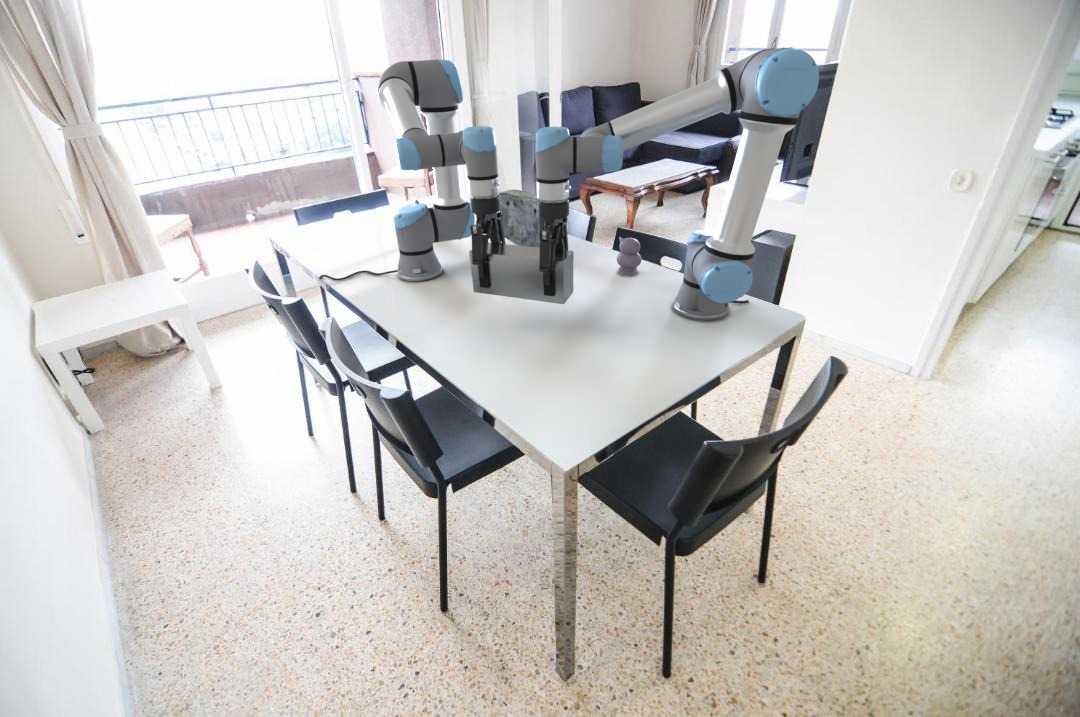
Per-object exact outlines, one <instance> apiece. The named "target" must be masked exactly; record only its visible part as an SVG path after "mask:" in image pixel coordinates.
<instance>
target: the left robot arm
mask: <svg viewBox="0 0 1080 717" xmlns="http://www.w3.org/2000/svg"><path fill="white" fill-rule="evenodd" d="M376 87H377V88H376V89H377V90H376V91H377V92H376V93H377V97H378V101H379V103H380V104H381V106H382V108H383V110H385V111H387V114H388V116H389V118H390V121H391V123H392V126H393V128H394V132H395V133H396V136H397V138H395V140H394V142H393V143H394V151H395V157H396V161H397V165H398V167H399V168H400V170H402V171H419V170H426V169H427V170H428V169H433V170H432V173H433V180H434V187H435V194H436V195H435V197H434V199H433V200H432V207H428V205H427V204H425V203H422V202H421V203H420V202H419V204H415V203H412V204H408V205H404V206H401V207H399V208H398V209H396V210H395V211H394V213H393V216H392V219H393V228H394V229H395V235H396V241H397V247H398V251H399V259H398V265H397V269H395V270H389V271H384V272H374V271H370V270H359V271H356V272H353V273H351V274H349V275H347V276H344V277H340V278H338V277H332V276H331V275H327V274H322V275H320V276H319V277H318V279H319V280H321V279H322V278H327V279H330V280H333V281H344V280H347V279H349V278H352V277H353V276H356V275H359V274H371V275H374V276H384V275H388V274H393V273H397V276H398V278H399V279H400V280H402V281H406V282H413V283H414V282H425V281H429V280H432V279H435V278H438V277H439V276H440V275H441V274H442V273H443V268H442V264H441V263H440V260H439V259H438V256H437V254H436V252H435V250H434V244H435V243H442V242H448V241H449V242H450V241H456V240H457V241H458V240H459V241H460V240H462V239H467V238H470V237H471V250H472V264H473V265H478V273H479V282H480V287H483V288H490V278H489V267H488V264H486V261H487V250H488V243H489V242H490V243H495V244H507V243H506V238H505V236H504V230H503V223H502V212H500V209H501V206H500V196H499V195H498V194H499V193H500V187H501V186H500V185H501V183H500V181H499V166H498V153H497V152H498V151H497V146H498V145H497V144H498V143H497V139H496V133H495V132H496V131H495V130H494V128H493V127H491V126H489V125H487V126H486V125H477V126H476V125H475V126H468V127H466V128H464V129H462V130H459V131H458V132H457V131H456V122H455V116H456V115H457V113H458V112H459V105H460V104H461V103H462V102H463V101H464V91H463V86H462V82H461V77H460V74H459V71H458V69H457V67H456V65H455V63H453V61H451V60H449V59H439V58H437V59H428V60H427V59H426V60H425V59H424V60H402V61H401V60H400V61H398V62H394V63H393V64H391V65H390V66H389V67H387V68H386V69H385V70H384V71H383V72H382V74H381V75H380V77H379V80H378V82H377V86H376ZM417 107H419V111H418V109H417ZM419 112H420V113H421V115H422V116H423V117H425V119H426V126H425V124H424V122H423V119H422V117H421V115H420V113H419ZM426 127H427V128H426ZM463 165H465V167H466V174H467V188H468V195H469V196H470V197H469V202H468V198H467V197H466V195H464V194H463V189H462V180H461V179H462V178H461V170H460V166H463ZM475 216H476V217H475ZM489 240H490V241H489Z"/></svg>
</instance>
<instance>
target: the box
mask: <svg viewBox="0 0 1080 717" xmlns="http://www.w3.org/2000/svg"><path fill="white" fill-rule="evenodd" d="M468 253H469V260H470V261H469V262H470V271H471V278H472V279H471V280H472V289H473V293H476V294H477V293H478V294H485V295H491V296H492V295H493V296H498V297H506V298H513V299H521V300H528V301H535V302H544V303H549V304H550V303H551V304H559V305H565V303H567V301H568V300H569V299H570V298H571V296H572V295H573V293H574V250H569V249H568V250H557V249H555V255H554V264H553V271H554V275H555V296H547V295H544V283H543V272H540V271H539V261H540V248H539V247H528V246H519V245H517V244H507V243H506V244H495V243H491V242H488V250H487V261H486V264H488V267H489V278H490V288H483V287H480V282H479V273H478V265H473V264H472V249H471V250H469V252H468Z"/></svg>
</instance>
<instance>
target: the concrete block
mask: <svg viewBox="0 0 1080 717" xmlns="http://www.w3.org/2000/svg"><path fill="white" fill-rule="evenodd" d="M497 195H499V196H500V206H501V209H500V211H499V212H502V223H503V230H504V236H505V240H508V241H510V242H511V243H513V244H514V245H518V246H528V247H539V248H540V236H539V232H540V231H543V229H544V224H545V220H544V219H543V218H540V217H539V216H538V201H539V199H538V198H537V193H534V192H530V191H526V190H519V189H507V190H504V191H501V192H500V191H499V193H498V194H497Z"/></svg>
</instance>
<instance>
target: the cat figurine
mask: <svg viewBox="0 0 1080 717" xmlns="http://www.w3.org/2000/svg"><path fill="white" fill-rule="evenodd" d="M618 237H619V238H618V239H619V247H618V249H619V251H620V252H619V253H618V254H617V256H616V263H617V265H618V266H619V267H618V274H619V275H620V276H625V277H633V276H635V275H637V274H638V267H639V266H640V265H641V264H642V256H641V254H640V253H639V252H640V250H641V243H640V242H639V240H638V239H636V238H634V237H625V238H624V237H621V236H618Z"/></svg>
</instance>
